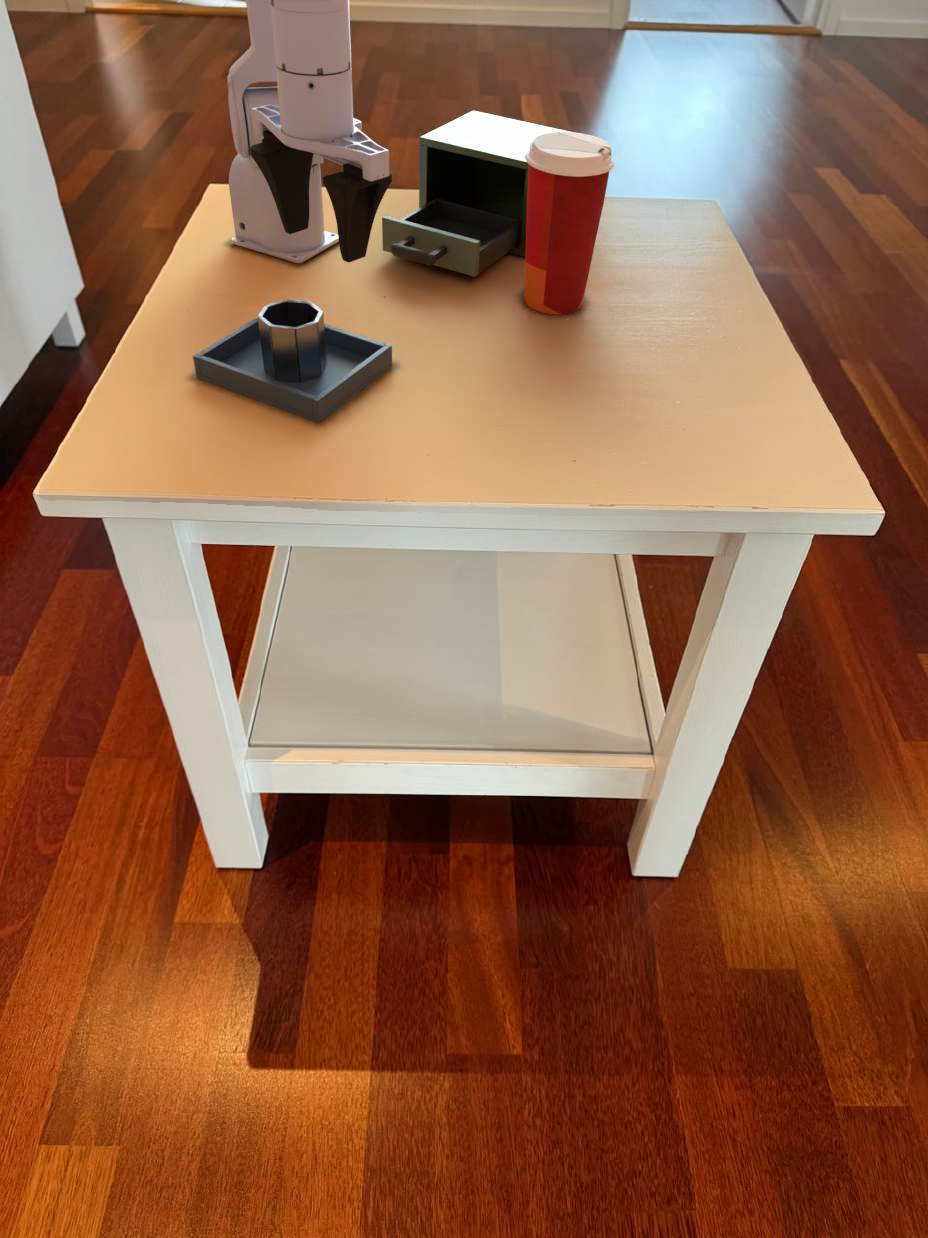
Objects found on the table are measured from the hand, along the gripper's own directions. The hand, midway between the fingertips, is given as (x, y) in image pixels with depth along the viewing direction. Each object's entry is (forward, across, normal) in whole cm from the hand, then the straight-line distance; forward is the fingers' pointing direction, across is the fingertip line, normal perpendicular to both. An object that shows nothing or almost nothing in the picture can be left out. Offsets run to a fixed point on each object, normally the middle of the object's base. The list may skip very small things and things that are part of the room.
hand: (324, 243), depth 79 cm
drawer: (+9, +6, -21) cm, 24 cm away
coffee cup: (+10, -8, -23) cm, 26 cm away
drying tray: (+9, -2, +6) cm, 11 cm away
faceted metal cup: (+9, -2, +6) cm, 11 cm away
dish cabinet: (+9, +9, -33) cm, 35 cm away
